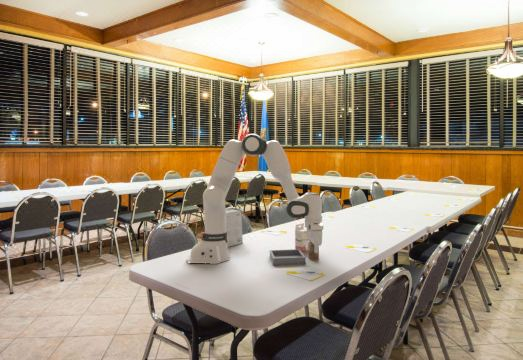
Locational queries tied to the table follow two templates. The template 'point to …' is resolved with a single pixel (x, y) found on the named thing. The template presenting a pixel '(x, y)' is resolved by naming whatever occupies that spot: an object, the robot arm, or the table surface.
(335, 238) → the table surface
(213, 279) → the table surface
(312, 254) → the walnut block
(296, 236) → the ink cartridge box
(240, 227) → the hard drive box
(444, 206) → the table surface
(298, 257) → the sorting tray
